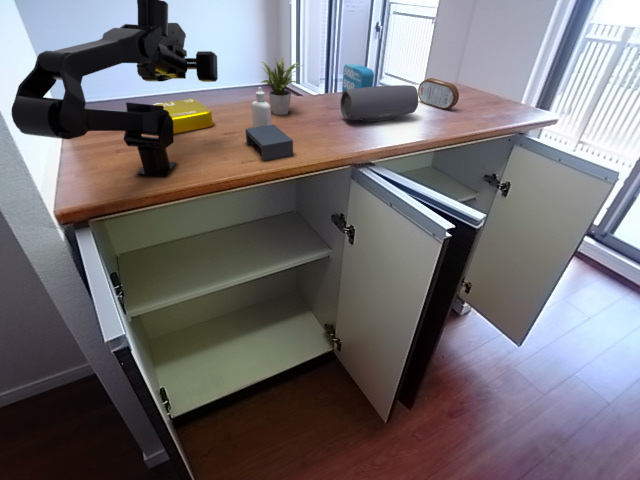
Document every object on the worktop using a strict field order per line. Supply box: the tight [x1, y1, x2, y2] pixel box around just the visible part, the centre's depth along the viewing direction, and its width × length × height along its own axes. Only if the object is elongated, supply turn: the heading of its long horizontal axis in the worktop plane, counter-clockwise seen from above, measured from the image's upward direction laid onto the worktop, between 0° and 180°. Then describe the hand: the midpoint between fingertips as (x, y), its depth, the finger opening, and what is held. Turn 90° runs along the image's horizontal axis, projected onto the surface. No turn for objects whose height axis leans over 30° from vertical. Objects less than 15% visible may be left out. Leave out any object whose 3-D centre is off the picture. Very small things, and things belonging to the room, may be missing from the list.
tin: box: [417, 77, 460, 110], centre depth 128 cm, size 15×3×8 cm, turn 42°
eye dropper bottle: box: [251, 86, 272, 128], centre depth 103 cm, size 4×6×12 cm
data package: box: [341, 62, 375, 95], centre depth 126 cm, size 12×4×12 cm, turn 28°
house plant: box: [260, 57, 304, 116], centre depth 114 cm, size 14×14×16 cm
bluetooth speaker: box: [339, 84, 419, 123], centre depth 115 cm, size 23×9×10 cm, turn 110°
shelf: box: [245, 124, 294, 162], centre depth 96 cm, size 8×12×4 cm, turn 29°
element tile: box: [151, 98, 214, 135], centre depth 108 cm, size 15×15×5 cm
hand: (195, 74), depth 96 cm, fingers open, 9 cm apart
